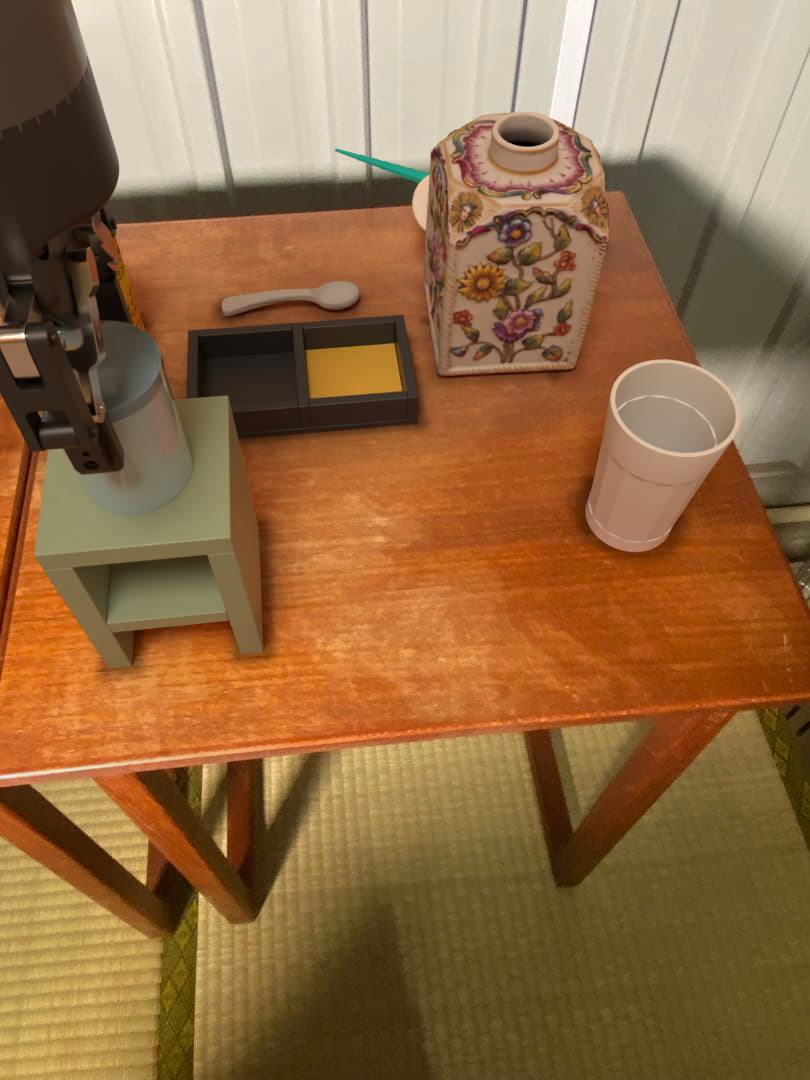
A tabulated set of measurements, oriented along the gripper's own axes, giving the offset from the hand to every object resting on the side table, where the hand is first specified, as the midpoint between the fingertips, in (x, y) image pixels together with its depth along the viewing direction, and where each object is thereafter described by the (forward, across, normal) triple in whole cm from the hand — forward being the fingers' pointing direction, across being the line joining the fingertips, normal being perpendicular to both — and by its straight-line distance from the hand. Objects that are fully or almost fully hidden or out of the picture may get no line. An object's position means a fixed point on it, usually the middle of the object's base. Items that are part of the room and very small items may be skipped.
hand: (108, 398), depth 41 cm
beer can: (+20, -25, -7) cm, 33 cm away
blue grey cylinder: (+6, 0, 0) cm, 6 cm away
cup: (+20, -3, +32) cm, 38 cm away
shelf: (+20, 0, 0) cm, 20 cm away
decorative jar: (+20, -23, +26) cm, 40 cm away
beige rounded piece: (+13, -31, +22) cm, 40 cm away
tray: (+20, -18, +9) cm, 28 cm away
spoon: (+20, -28, +8) cm, 35 cm away
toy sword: (+18, -32, +38) cm, 53 cm away
